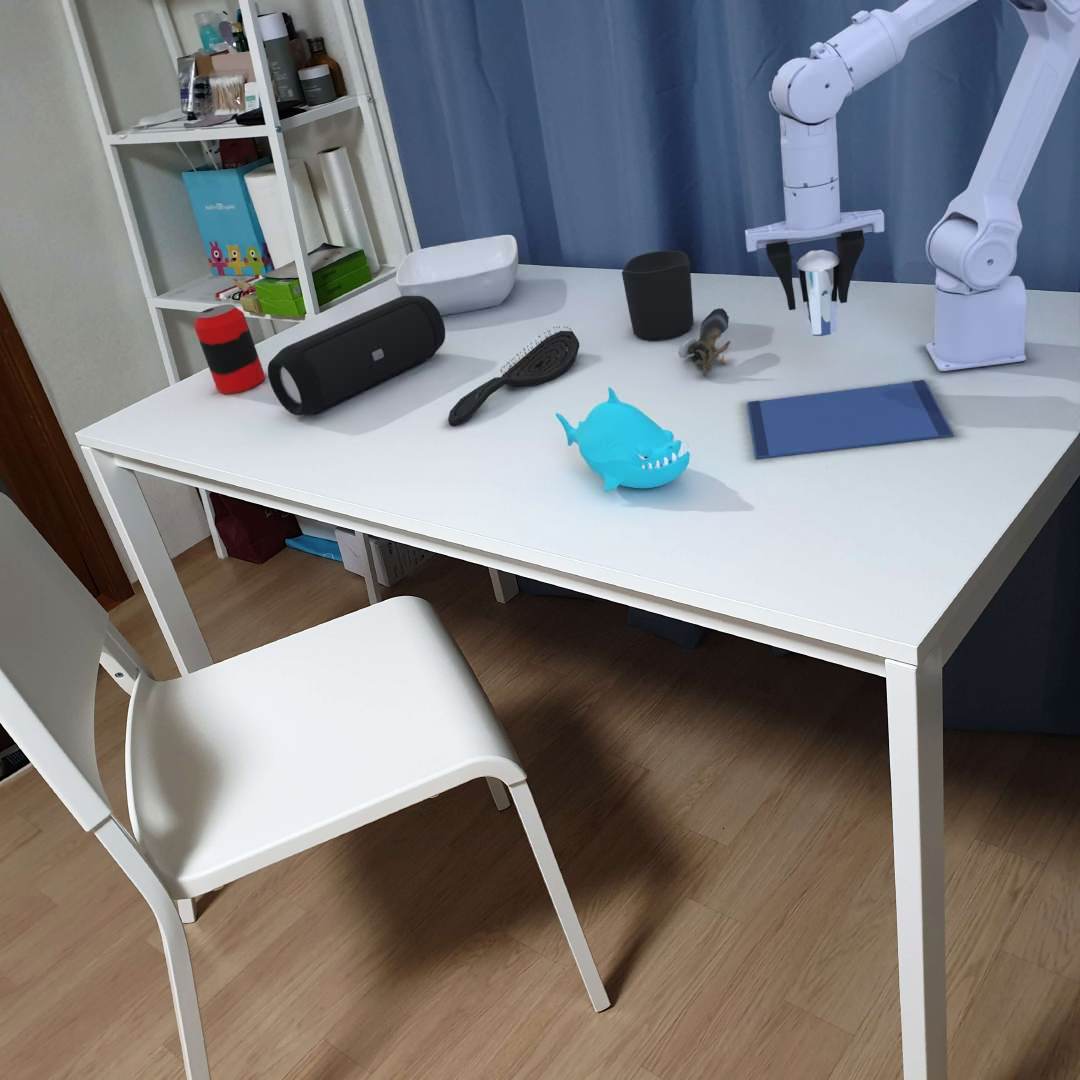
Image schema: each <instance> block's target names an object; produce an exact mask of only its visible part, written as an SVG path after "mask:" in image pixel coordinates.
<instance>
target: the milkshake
mask: <svg viewBox="0 0 1080 1080" xmlns="http://www.w3.org/2000/svg"><path fill="white" fill-rule="evenodd" d="M790 254H791V258H792V259H793V261H794V263H795V265H796V269H797V275H798V280H799V286H800V290H801V296H802V304H803V311H804V317H805V318H804V319H805V324H806V331H807V334H808V335H809V336H812V337H825V336H830V335H832V334H834V333H836V332H837V316H838V315H837V311H838V277H839V258H838V255H837V254H835V252H833V251H829V250H825V249H818V250H810V251H808V252H807V253H806V254H804V255H802V256H801V257H800V258H799V259H798V260H797V261H796V259H795V257H794V255H793V253H792V251H790Z"/></svg>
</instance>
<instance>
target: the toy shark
mask: <svg viewBox="0 0 1080 1080" xmlns="http://www.w3.org/2000/svg"><path fill="white" fill-rule="evenodd" d="M607 387H608V388H607V389H608V398H607V400H606V401H603V402H601V403H599V404H597V405H595V406H594V408H592V409H591V410H590V412H589V413H588V414H587V415H586V417H585V419H584V420H583V421H582V420H581V421H578V425H577V427H576V428H574V427H573V426H572V425H571V424H570V423H569V422H568V420H567V419H566V417H564V416H563V415H562V414H561V413H559V412H555V417H556V418H557V420H559V423H560V425H562V427H563V429H564V433H565V434H566V440H567V444H566V445H567V446H568V447H571V446H572V445H573V443H575V444H576V445H578V450H579V453H580V455H581V457H582V458H583V460H584V462H585V463H586V464H587V465H588V467H589V468H590V469H591V471H593V472H594V473H595V474H596V475H598V476H600V477H601V478H602V479H603V480H604V481H605V482H604V483H605V484H604V488H603V492H609V491H611V490H614V489H615V488H617V487H618V486H623V487H626V488H627V487H628V488H632V489H633V488H635V489H652V488H657V487H661V486H663V485H666V484H668V483H670V482H672V481H674V480H676V479H677V478H679V477H680V476H681V475H682V474H683V473H684V472H685V470H687V468H688V466H689V464H690V458H691V457H690V456H691V454H690V452H689V451H688V450H687V446H686V445H685V444H683V442H682V441H681V440H679V439H675V440H674V438H675V435H674V433H673V431H671V430H670V429H663V428H662V427H661V426H659V424H658V423H656V422H655V421H654V420H652V419H651V418H650V417H649V416H647V415H646V414H645V413H644V412H642V411H641V410H640V409H639V408H638V407H637V406H635V405H632V404H629V403H627V402H623V401H620V399H619V397H617V394H616V392H615V390H613V388H611V387H610V386H607Z"/></svg>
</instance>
